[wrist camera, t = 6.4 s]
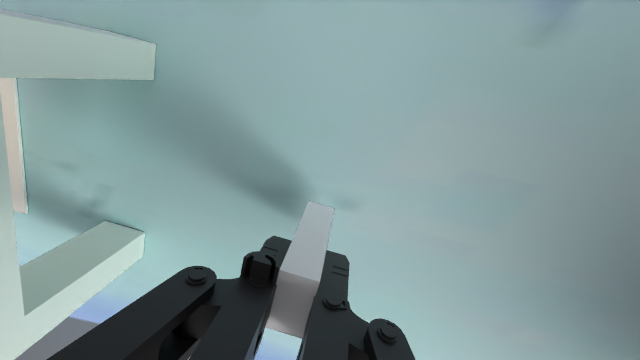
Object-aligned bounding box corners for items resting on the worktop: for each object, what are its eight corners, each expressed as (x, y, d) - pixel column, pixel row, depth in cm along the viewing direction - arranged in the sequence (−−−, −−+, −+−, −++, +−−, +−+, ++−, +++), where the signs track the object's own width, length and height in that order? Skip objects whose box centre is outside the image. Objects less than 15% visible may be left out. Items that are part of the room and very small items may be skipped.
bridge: (155, 44, 17) (-60, 2, 8) (143, 255, 22) (-1, 371, 13) (106, 30, 17) (-157, -24, 8) (104, 244, 22) (-64, 351, 13)
